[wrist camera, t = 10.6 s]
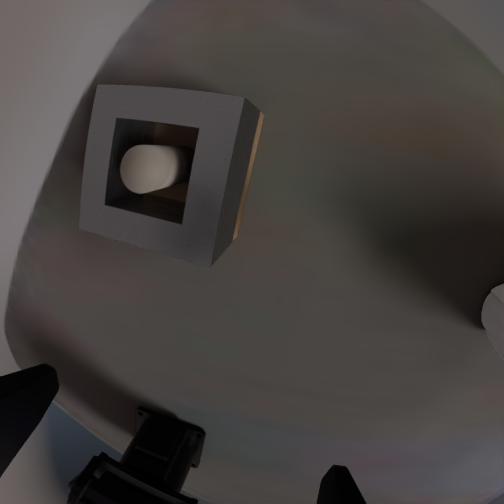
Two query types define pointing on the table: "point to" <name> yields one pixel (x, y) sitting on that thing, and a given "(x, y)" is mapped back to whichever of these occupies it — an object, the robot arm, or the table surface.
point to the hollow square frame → (201, 179)
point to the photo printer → (494, 318)
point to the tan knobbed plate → (171, 164)
